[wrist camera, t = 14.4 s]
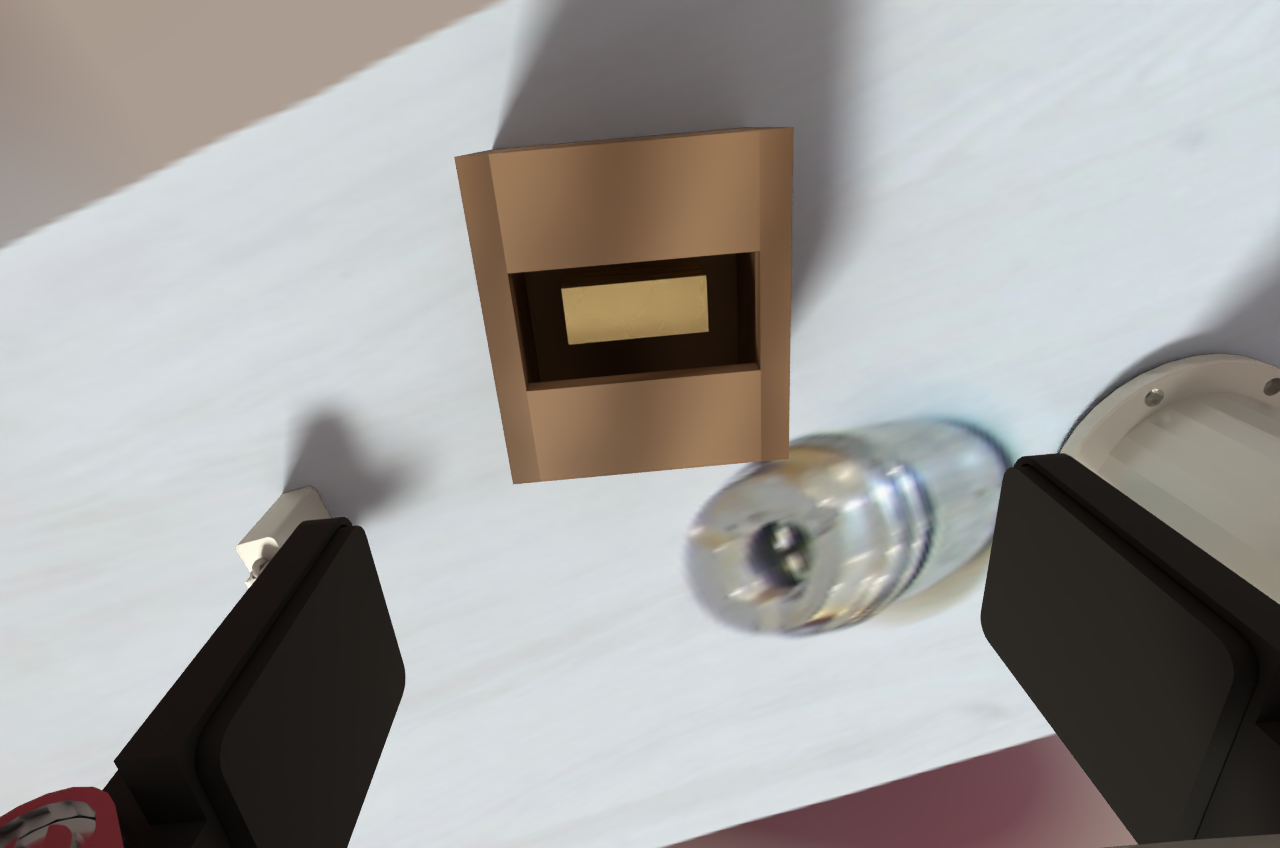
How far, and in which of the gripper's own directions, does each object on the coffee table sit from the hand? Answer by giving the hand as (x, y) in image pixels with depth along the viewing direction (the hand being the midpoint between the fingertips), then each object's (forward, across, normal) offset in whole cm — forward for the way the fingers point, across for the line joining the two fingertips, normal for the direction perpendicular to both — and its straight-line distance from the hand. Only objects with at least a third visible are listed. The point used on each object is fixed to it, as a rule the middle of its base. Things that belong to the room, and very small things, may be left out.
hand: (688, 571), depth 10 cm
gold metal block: (+20, 0, 0) cm, 20 cm away
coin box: (+20, 0, 0) cm, 20 cm away
